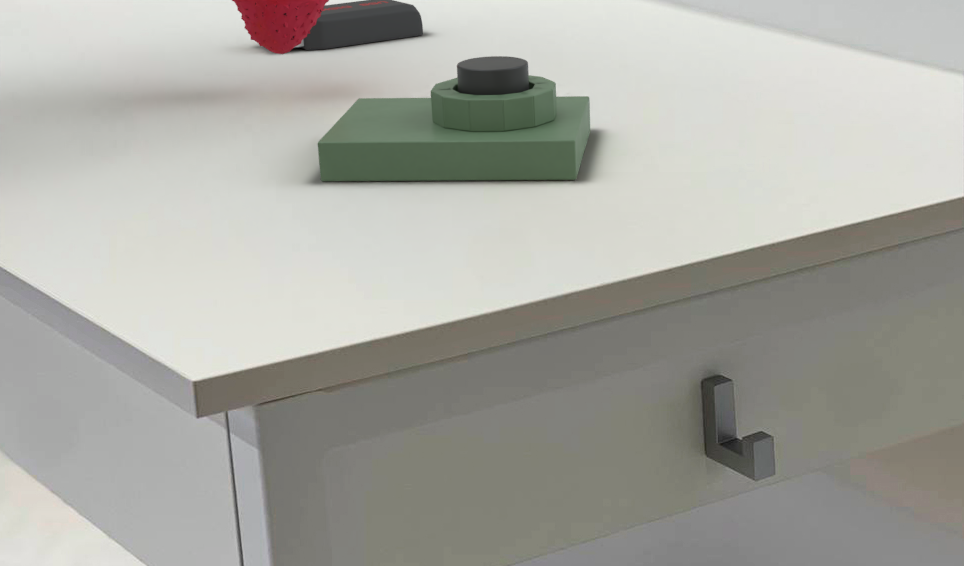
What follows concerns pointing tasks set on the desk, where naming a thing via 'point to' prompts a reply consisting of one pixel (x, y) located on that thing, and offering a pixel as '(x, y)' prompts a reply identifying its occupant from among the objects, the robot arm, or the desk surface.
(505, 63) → the button
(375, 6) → the usb drive
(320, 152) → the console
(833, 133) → the desk surface
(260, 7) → the strawberry
